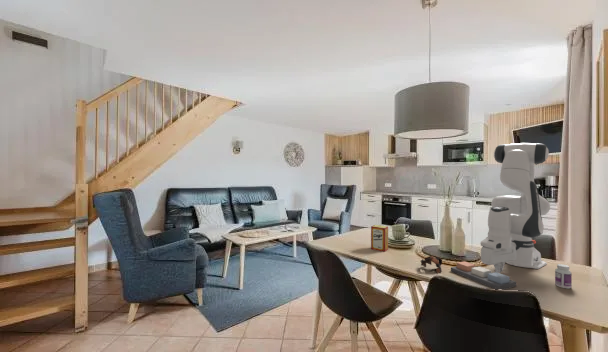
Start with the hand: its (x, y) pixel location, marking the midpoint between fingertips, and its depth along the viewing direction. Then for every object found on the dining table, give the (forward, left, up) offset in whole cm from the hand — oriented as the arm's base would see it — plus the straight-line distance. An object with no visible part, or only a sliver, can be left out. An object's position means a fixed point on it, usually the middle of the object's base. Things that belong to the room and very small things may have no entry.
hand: (498, 271), depth 119 cm
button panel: (0, -8, -6) cm, 10 cm away
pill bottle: (-26, +12, -7) cm, 29 cm away
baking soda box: (+16, -66, -7) cm, 68 cm away
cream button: (0, -8, -5) cm, 9 cm away
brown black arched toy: (+12, -26, -7) cm, 29 cm away
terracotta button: (0, -16, -5) cm, 17 cm away
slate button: (0, 0, -5) cm, 5 cm away
